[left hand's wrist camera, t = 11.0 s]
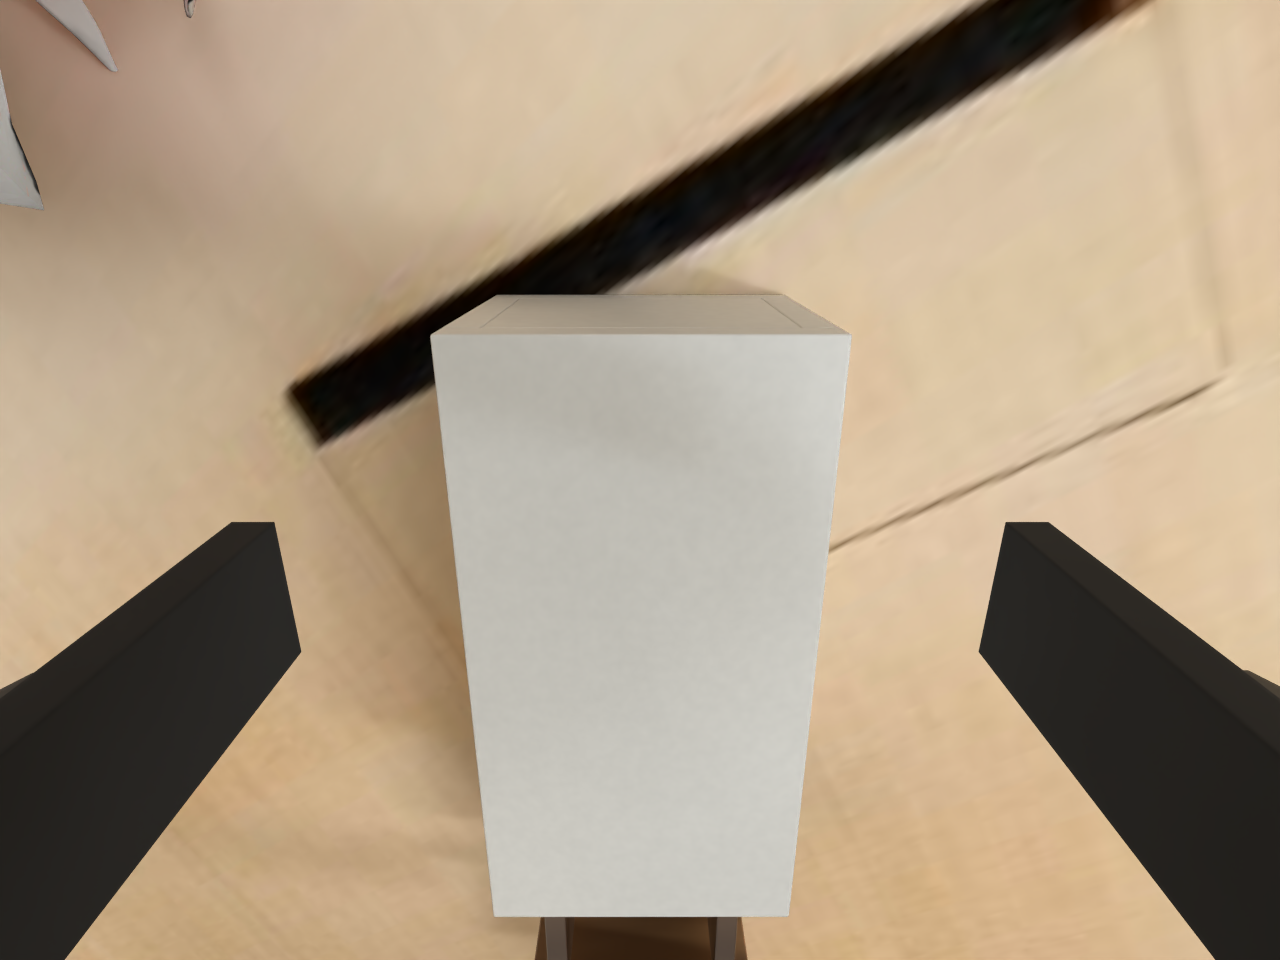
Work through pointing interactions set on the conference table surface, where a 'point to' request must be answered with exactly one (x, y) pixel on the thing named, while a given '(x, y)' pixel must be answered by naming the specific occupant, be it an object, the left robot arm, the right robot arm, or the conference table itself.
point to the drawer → (641, 938)
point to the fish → (3, 162)
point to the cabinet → (641, 590)
